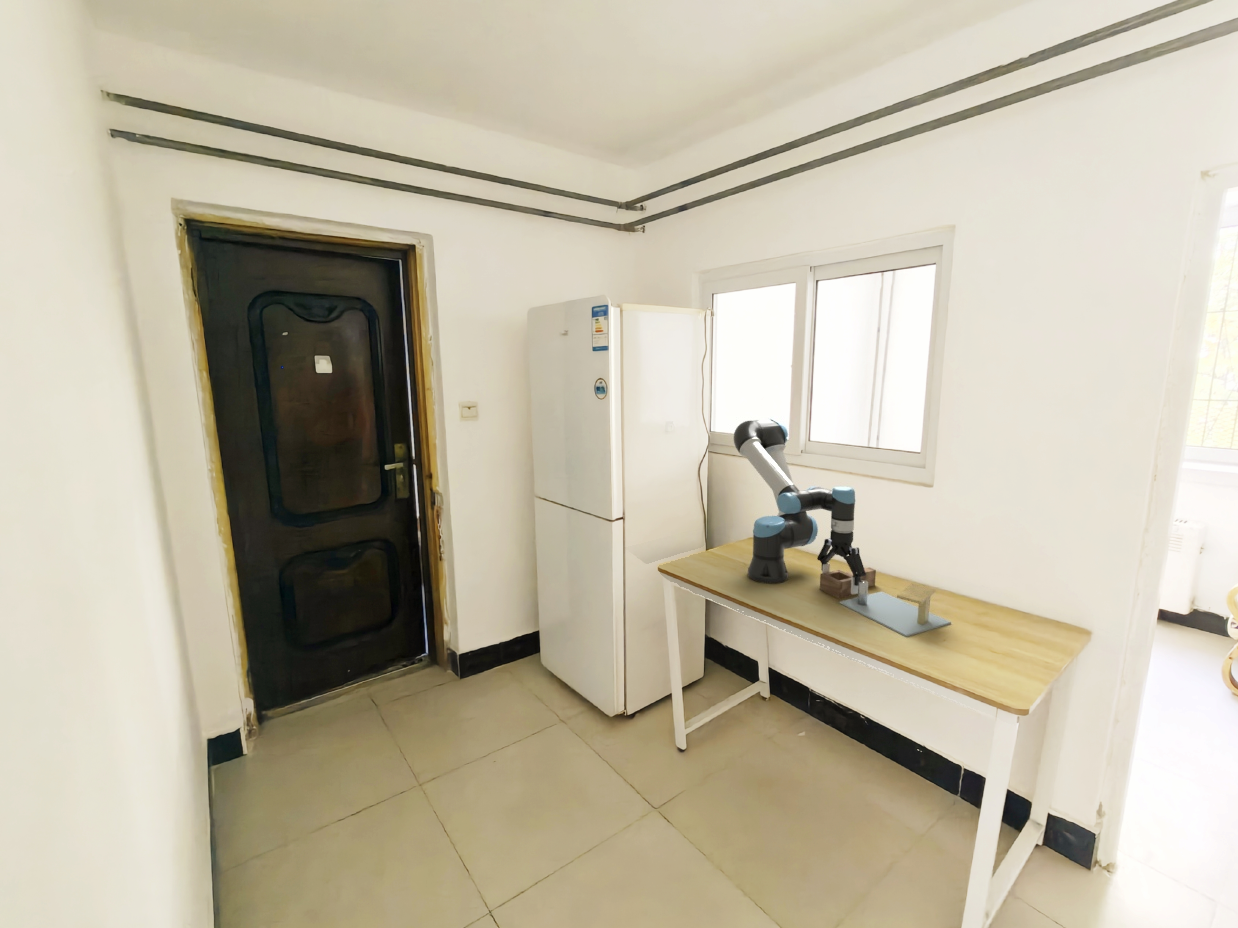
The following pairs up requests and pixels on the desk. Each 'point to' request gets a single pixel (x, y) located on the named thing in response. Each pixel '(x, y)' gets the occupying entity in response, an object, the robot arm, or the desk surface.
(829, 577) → the link
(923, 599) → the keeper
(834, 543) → the robot arm
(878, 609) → the board
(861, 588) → the cylinder
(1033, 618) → the desk surface
